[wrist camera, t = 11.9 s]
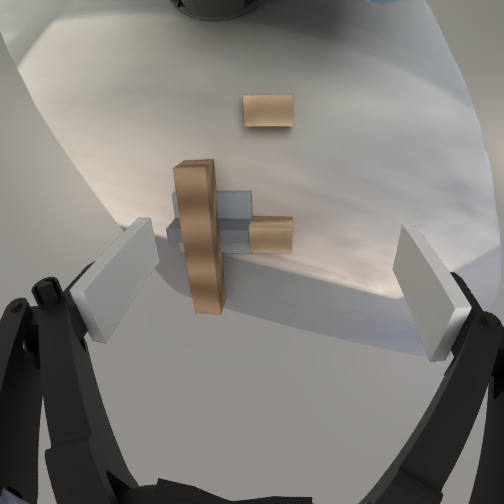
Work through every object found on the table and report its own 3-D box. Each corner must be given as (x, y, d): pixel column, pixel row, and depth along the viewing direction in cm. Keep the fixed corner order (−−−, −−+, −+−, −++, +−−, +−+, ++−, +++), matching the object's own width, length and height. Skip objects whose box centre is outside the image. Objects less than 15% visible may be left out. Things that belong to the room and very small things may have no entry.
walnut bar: (184, 160, 38) (173, 168, 34) (213, 159, 37) (205, 167, 34) (201, 296, 49) (195, 312, 45) (225, 298, 48) (220, 314, 45)
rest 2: (252, 216, 46) (248, 227, 43) (292, 216, 45) (292, 228, 42) (253, 239, 48) (249, 252, 45) (291, 240, 47) (291, 253, 44)
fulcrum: (174, 192, 45) (161, 203, 41) (251, 191, 44) (246, 203, 40) (182, 248, 50) (172, 264, 46) (253, 250, 49) (249, 267, 45)
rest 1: (247, 95, 37) (243, 95, 34) (292, 94, 36) (292, 95, 33) (248, 123, 39) (244, 126, 36) (292, 123, 38) (293, 126, 35)
